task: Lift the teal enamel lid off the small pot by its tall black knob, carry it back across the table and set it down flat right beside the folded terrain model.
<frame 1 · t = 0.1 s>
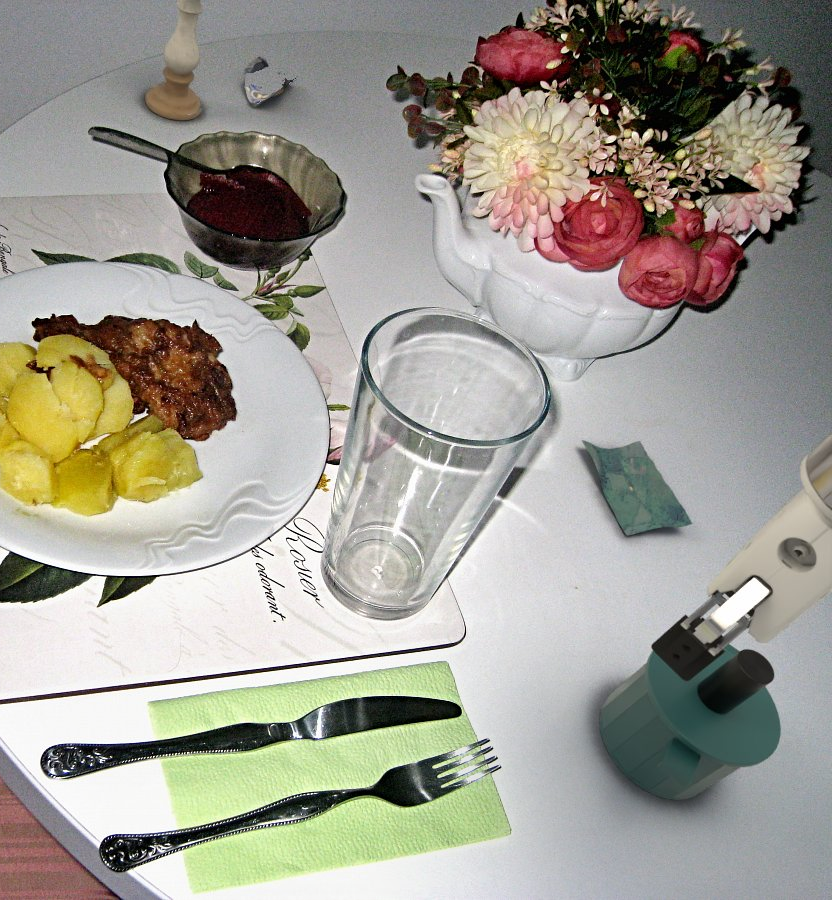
hand: (705, 631, 65), 20 cm above the table, tool pointing down, fingers open, 9 cm apart
terrain model: (626, 491, 102), on the table
snack package: (263, 92, 148), on the table
candle holder: (173, 107, 138), on the table
pot: (654, 741, 81), on the table
pot lid: (710, 700, 75), point 8 cm above the table, touching pot
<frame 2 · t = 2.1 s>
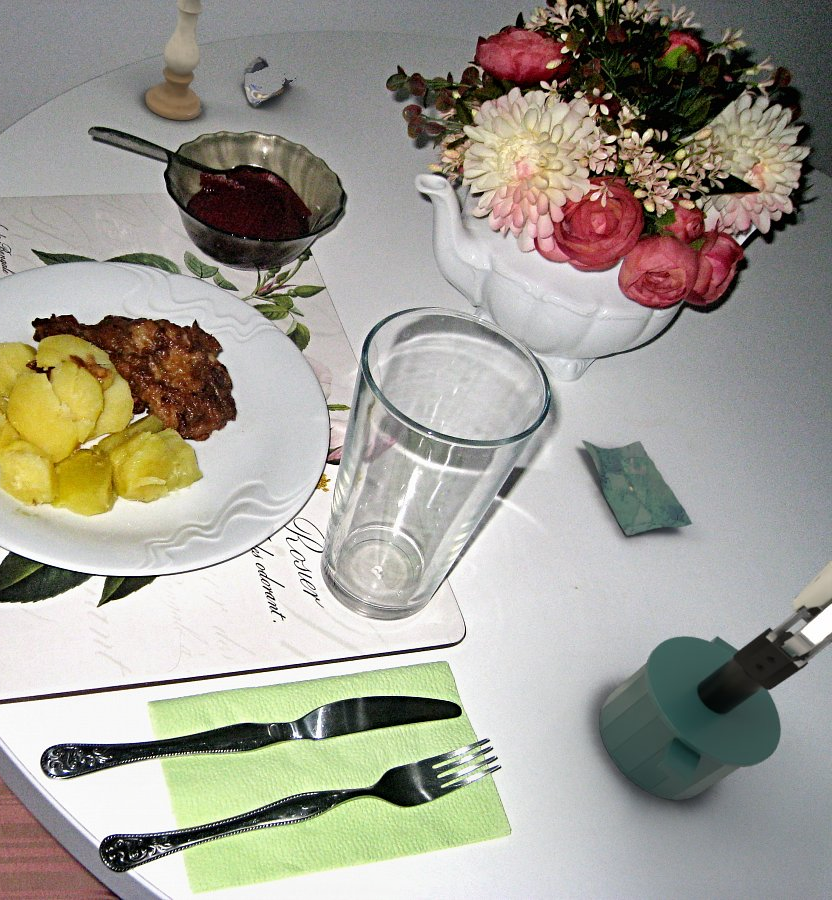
hand: (782, 642, 68), 18 cm above the table, tool pointing down, fingers open, 9 cm apart
nothing on the table moved.
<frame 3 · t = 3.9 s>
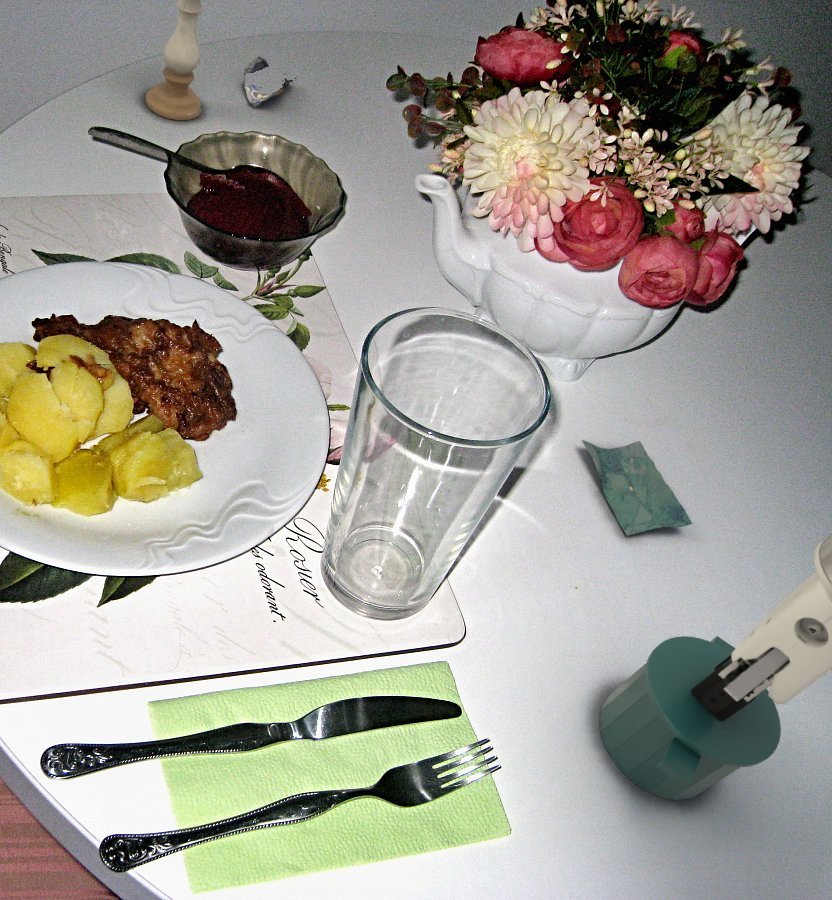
hand: (719, 693, 74), 10 cm above the table, tool pointing down, fingers closed on pot lid, 3 cm apart
pot lid: (710, 700, 75), point 9 cm above the table, touching gripper, pot
everything else where it was.
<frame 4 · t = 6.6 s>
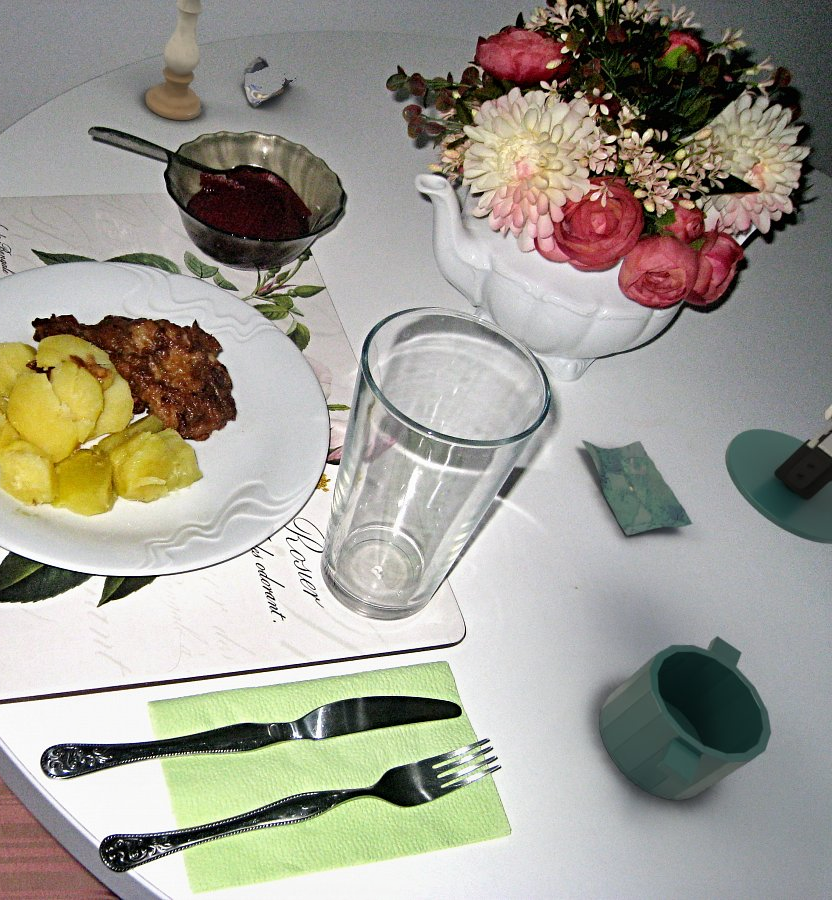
hand: (803, 476, 72), 24 cm above the table, tool pointing down, fingers closed on pot lid, 3 cm apart
pot lid: (792, 486, 73), point 23 cm above the table, touching gripper
everything else where it was.
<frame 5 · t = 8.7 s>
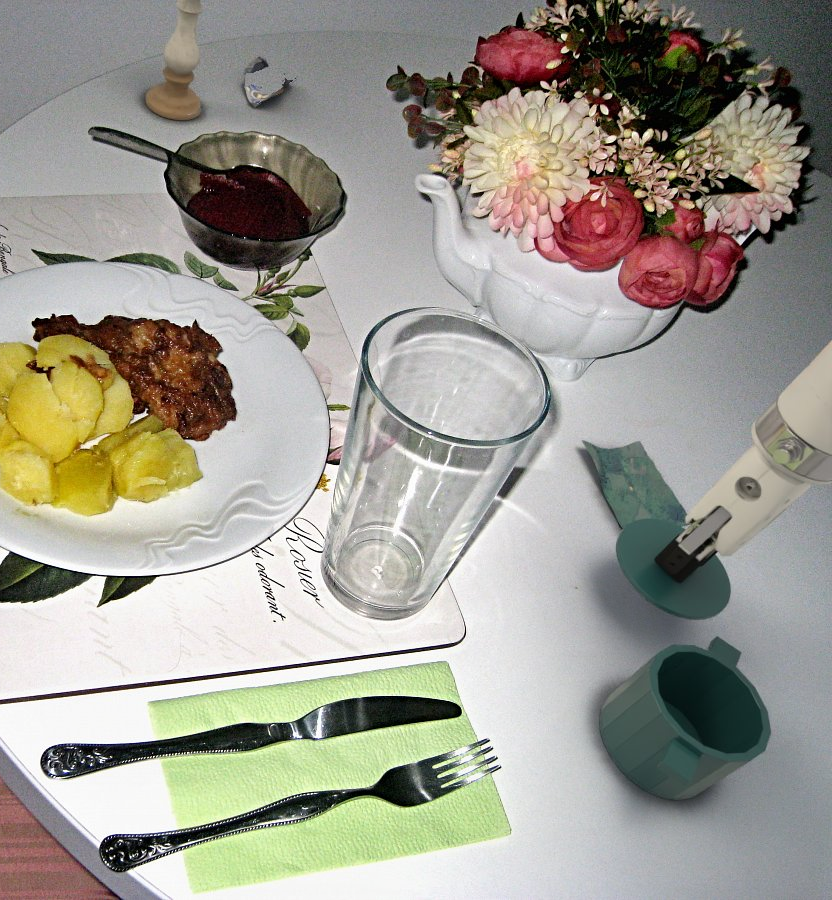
hand: (679, 561, 86), 7 cm above the table, tool pointing down, fingers closed on pot lid, 3 cm apart
pot lid: (671, 569, 87), point 6 cm above the table, touching gripper
everything else where it was.
when the fingers open (2 cm above the table, at t = 10.2 s): pot lid stays where it is, point 1 cm above the table.
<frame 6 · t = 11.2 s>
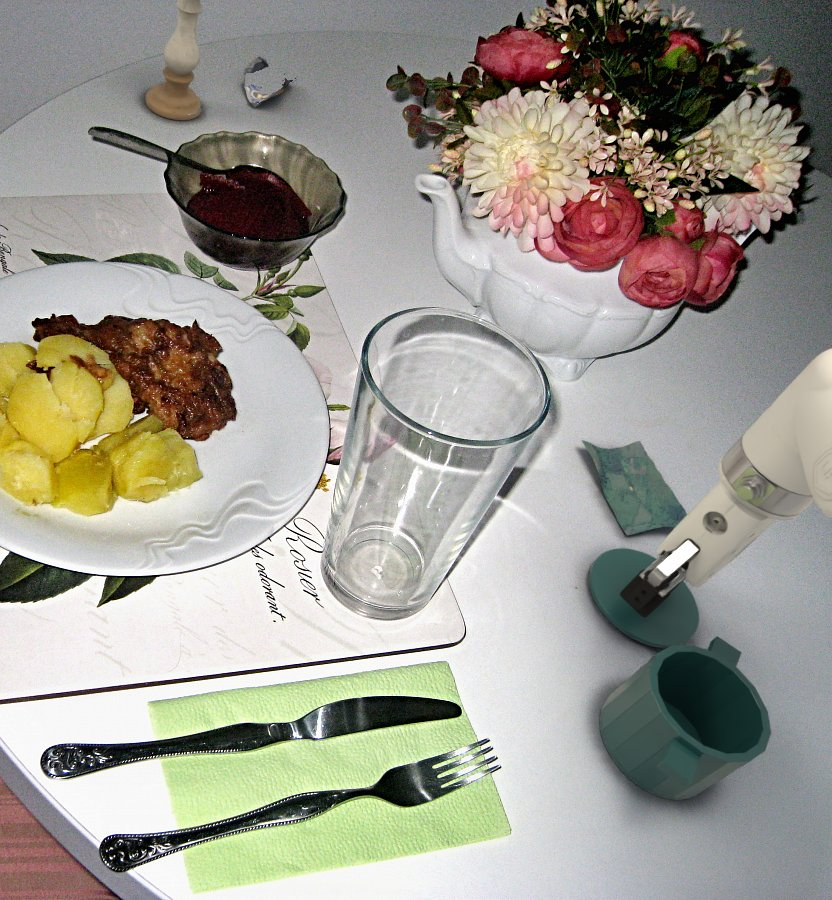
hand: (659, 584, 89), 4 cm above the table, tool pointing down, fingers open, 9 cm apart
pot lid: (642, 597, 91), point 1 cm above the table
everything else where it was.
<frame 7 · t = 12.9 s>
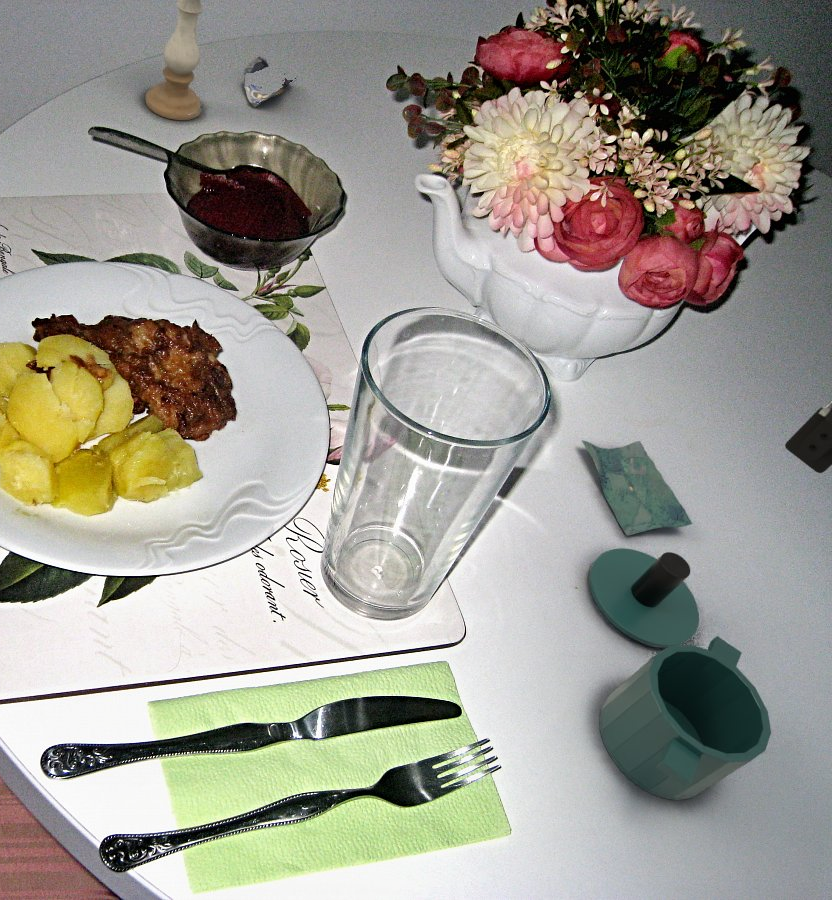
hand: (831, 438, 69), 28 cm above the table, tool pointing down, fingers open, 9 cm apart
nothing on the table moved.
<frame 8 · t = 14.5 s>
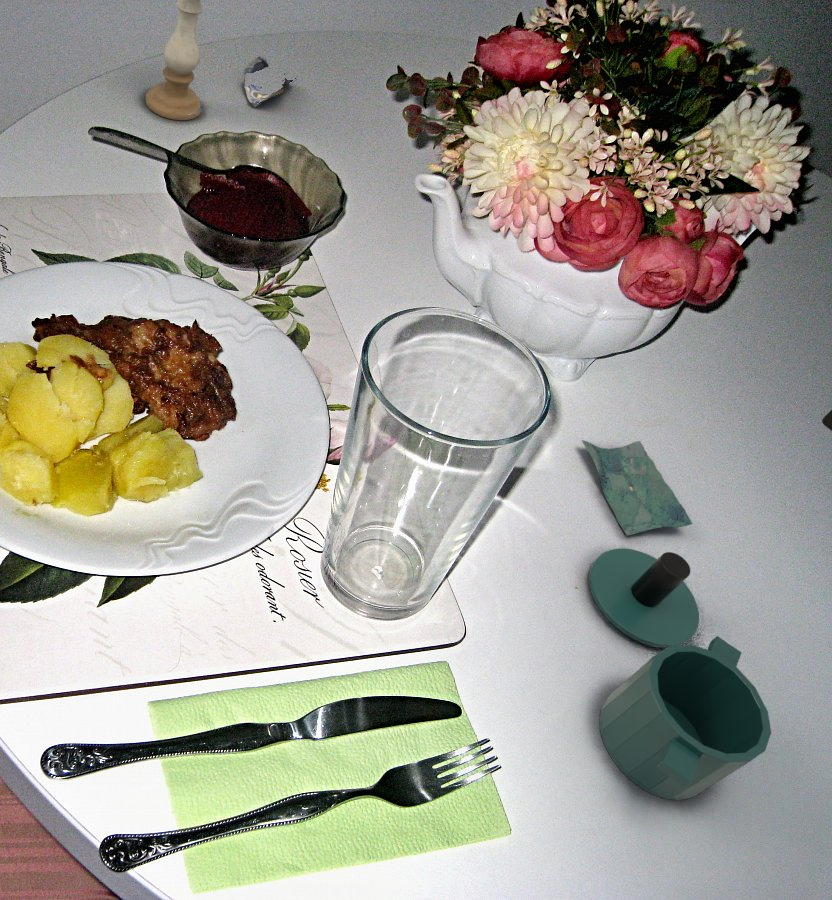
nothing on the table moved.
at the end: pot lid point 0.6 cm above the table; pot lid 15.6 cm from the terrain model (horizontally); pot lid tilted 0° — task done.
